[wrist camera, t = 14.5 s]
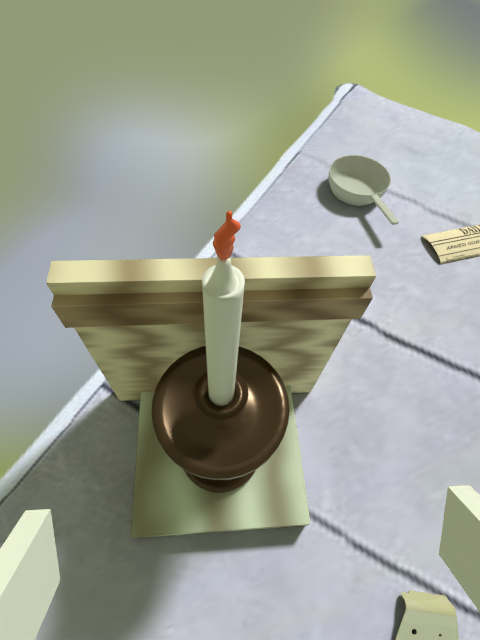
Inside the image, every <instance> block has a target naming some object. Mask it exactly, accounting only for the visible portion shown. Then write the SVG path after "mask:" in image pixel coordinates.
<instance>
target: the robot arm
mask: <svg viewBox="0 0 480 640" xmlns="http://www.w3.org/2000/svg"><path fill="white" fill-rule="evenodd" d="M439 555H440V556H441V558H442V559H443V561H444V562H445V563H446V565H447V566H448V568H449V569H450V571H451V572H452V573H453V575H454V576H455V578H456V579H457V580H458V582H459V583H460V585H461V586H462V588H463V589H464V590H465V592H466V593H467V595H468V596H469V597H470V599H471V600H472V602H473V603H474V605H475V606H476V607H477V609H478V610H479V612H480V495H479V494H478V493H477V492H476V491H475V490H474V489H473V488H472V487H471V486H470V485H469V486H451V487H448V491H447V498H446V505H445V513H444V520H443V528H442V535H441V542H440V550H439ZM59 583H60V573H59V566H58V559H57V552H56V544H55V537H54V530H53V523H52V515H51V509H42V510H25V512H24V514H23V515H22V517H21V518H20V520H19V521H18V523H17V524H16V526H15V527H14V529H13V530H12V532H11V533H10V535H9V536H8V538H7V539H6V541H5V542H4V544H3V545H2V547H1V548H0V640H35V639H36V636H37V634H38V632H39V629H40V627H41V625H42V622H43V620H44V618H45V615H46V613H47V611H48V608H49V606H50V604H51V601H52V599H53V597H54V594H55V592H56V590H57V587H58V585H59Z"/></svg>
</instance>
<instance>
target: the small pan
mask: <svg viewBox="0 0 480 640" xmlns="http://www.w3.org/2000/svg"><path fill="white" fill-rule="evenodd" d="M390 182H391V178H390V174H389V172H388V171H387V169H386V168H385V167H384V166H383V165H381V164H380V163H379V162H377V161H375V160H373V159H370V158H368V157H364V156H358V155H350V156H344V157H341V158H338V159H337V160H335V161H334V162H333V163H332V165H331V167H330V171H329V184H330V187H331V190H332V192H333V194H334V195H335V196H336V197H337V198H338V199H339V200H341V201H342V202H344V203H347V204H350V205H354V206H365V205H369V204H371V203H373V202H375V204H376V205H377V206H378V207H379V209H380V210H381V211H382V213H383V214H384V215H385V216H386V218H387V219H388V220H389V221H390V223H391V224H393V225H395V224H398V223H399V221H398V220H397V219H396V217H395V216H394V215H393V214H392V212H391V211H390V210H389V209H388V207H387V206H386V205H385V204H384V203H383V201H382V200H381V199H380V198H381V197H382V196H383V195H384V194H385V192H386V191H387V189H388V187H389V185H390Z"/></svg>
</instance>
